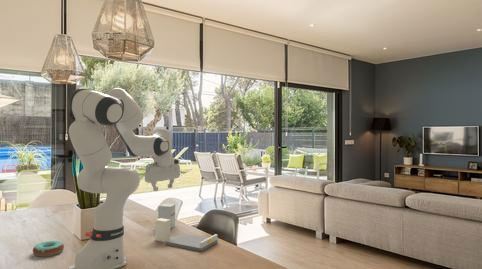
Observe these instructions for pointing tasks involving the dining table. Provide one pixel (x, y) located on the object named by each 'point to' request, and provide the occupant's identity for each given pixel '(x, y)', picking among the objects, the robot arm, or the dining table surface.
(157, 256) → the dining table surface
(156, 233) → the carton
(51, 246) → the donut
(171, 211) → the supplement box
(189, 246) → the grey panel white edge
